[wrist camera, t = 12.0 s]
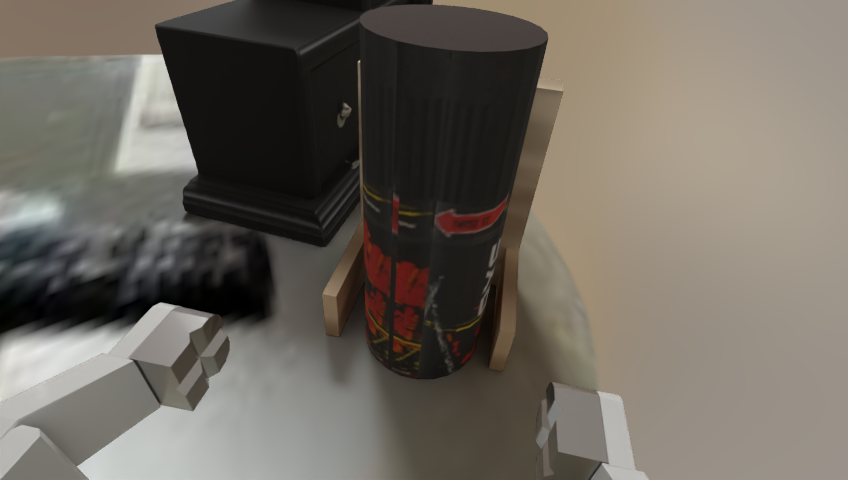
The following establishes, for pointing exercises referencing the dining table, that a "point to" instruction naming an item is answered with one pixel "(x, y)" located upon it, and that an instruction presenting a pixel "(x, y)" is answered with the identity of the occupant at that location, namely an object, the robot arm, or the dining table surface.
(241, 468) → the dining table surface
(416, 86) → the deodorant
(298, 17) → the bookend
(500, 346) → the rack
